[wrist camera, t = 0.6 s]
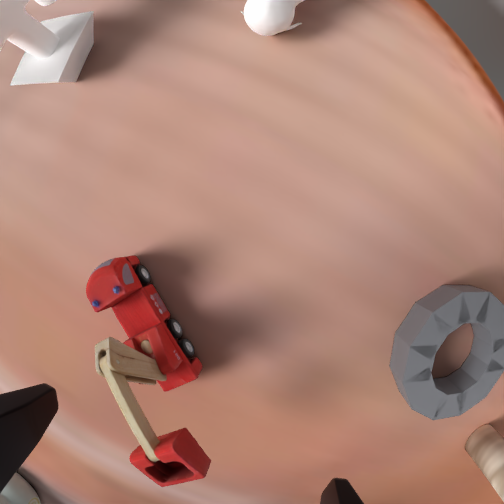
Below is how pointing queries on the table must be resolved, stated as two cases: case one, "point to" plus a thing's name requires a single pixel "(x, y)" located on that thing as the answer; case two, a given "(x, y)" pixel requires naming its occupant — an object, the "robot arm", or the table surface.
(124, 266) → the toy fire truck
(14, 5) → the figurine
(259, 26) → the white animal statue
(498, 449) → the birch peg
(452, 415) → the grey ring
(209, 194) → the table surface
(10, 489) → the air freshener
